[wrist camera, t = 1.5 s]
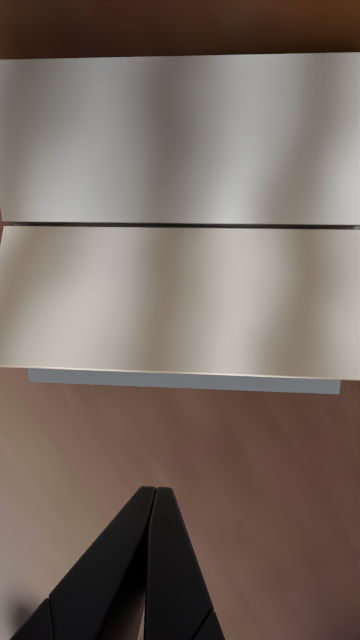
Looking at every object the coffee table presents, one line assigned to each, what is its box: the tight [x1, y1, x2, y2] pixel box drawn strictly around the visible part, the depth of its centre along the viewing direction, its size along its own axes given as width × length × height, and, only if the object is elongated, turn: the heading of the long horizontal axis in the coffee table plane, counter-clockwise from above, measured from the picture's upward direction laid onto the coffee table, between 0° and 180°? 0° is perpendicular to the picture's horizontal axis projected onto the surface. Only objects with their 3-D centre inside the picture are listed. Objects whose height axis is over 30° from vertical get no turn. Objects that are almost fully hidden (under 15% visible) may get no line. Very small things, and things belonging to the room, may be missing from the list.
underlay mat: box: [13, 223, 360, 394], centre depth 17 cm, size 19×17×1 cm
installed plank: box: [0, 52, 360, 230], centre depth 15 cm, size 18×8×2 cm, turn 89°
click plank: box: [0, 226, 360, 380], centre depth 15 cm, size 18×7×2 cm, turn 89°
